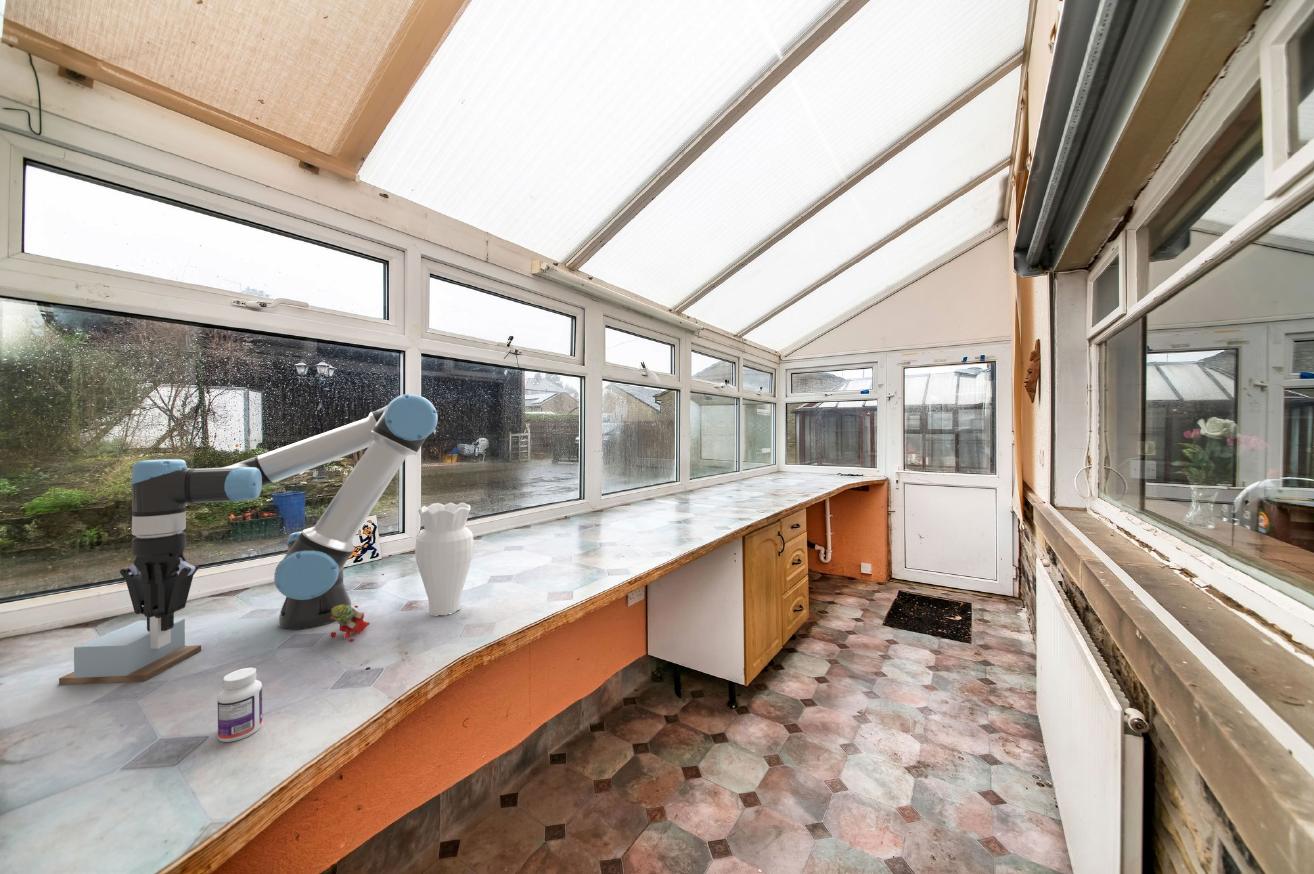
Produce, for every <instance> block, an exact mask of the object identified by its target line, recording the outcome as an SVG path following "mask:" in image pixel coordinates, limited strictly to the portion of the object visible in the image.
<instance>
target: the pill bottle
mask: <svg viewBox="0 0 1314 874" xmlns="http://www.w3.org/2000/svg"><path fill="white" fill-rule="evenodd" d="M257 676H258V675H257V668H255V667H244V668H240V669H236V670H234V671H232V672H230V673H227V674H226V675H224V677H223V679H222V686H223V689H222V690H221V691H220V692H219V693H218V695H217V740H218V741H220V742H222V743H230V742H231V743H232V742H236V741H240V740H242V739H245V738H247V737H249V736H251V735H253V734H254V733H256V732H257V731H258V730H260V728H261V727H262V725H263V683H262V682H261V681H260V680H259V679H257Z"/></svg>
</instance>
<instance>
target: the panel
mask: <svg viewBox="0 0 1314 874" xmlns="http://www.w3.org/2000/svg"><path fill="white" fill-rule="evenodd" d="M185 622H186V621H185V618H177V619H176V618H174V626H173V628H171V643H168V644H166V645H164V646H162V647H160V648H158V649H150V631H148V630H147V619H144V620H143V619H141V620H137V621H135V622H133V623H130V624H128V625H124V626H122V627H121V628H118V629H115V630H112V631H110V632H108V633H106V634H103V635H101V636H98V637H96V638H92V639H91V640H88V641H86V642H83V643H81V644H78V645H76V646H74V647H73V666H74V667H73V672H74V678H81V677H106V676H127V675H128V674H130V673H132V672H134V671H136V670H138V669H140V668H142V667H144V666H146V665H148V664H150V663H152V662H154V661H156V660H158V659H160V658H162V657H164V656H166V655H168V654H170V653H172V652H174V651H175V650H177V649H179V648H181V647H183V646H186V623H185Z"/></svg>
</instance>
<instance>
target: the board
mask: <svg viewBox="0 0 1314 874" xmlns="http://www.w3.org/2000/svg"><path fill="white" fill-rule="evenodd" d="M201 651H202V645H201V644H199V645H198V644H197V645H194V644H193V645H185V646H183V647H181V648H179V649H177V650H175V651H174V652H172V653H170V654H168V655H166V656H164V657H162V658H160V659H158V660H156V661H154V662H152V663H150V664H148V665H146V666H144V667H142V668H140V669H138V670H136V671H134V672H132V673H130V674H128V675H127V676H106V677H81V678H74V671H72V672H70V673H68V674H65V675H63V676H61V677H59V678H58V685H78V684H82V685H83V684H101V683H103V684H106V683H129V682H130V683H132V682H146V681H149V680H150V679H152V678H153V677H155V676H157V675H160V674H161V673H163V672H164V671H166V670H168V669H170V668H173V667H174V666H175V665H177V664H179V663H181V662H183V661H185V660H186V659H188V658H190V657H192V656H194V655H196V654H198V653H200V652H201Z"/></svg>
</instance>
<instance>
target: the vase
mask: <svg viewBox="0 0 1314 874" xmlns="http://www.w3.org/2000/svg"><path fill="white" fill-rule="evenodd" d="M417 512H418V514H419V516H420V518H421V521H422V523H423V527H424V529H423V530H422V531H421V532H419V534H418V535H417V537H416V539H415V547H414V552H415V555H414V556H415V562H416V565H417V568H418V572H419V575H420V577H421V580H422V583H423V587H424V589H425V593H426V597H427V599H428V601H427V602H428V614H429V613H430V614H429V615H431V614H432V615H431V616H433V615H445V616H447V615H446V614H449V613H453V612H455V613H457V612H458V611H457V610H459V609H460V610H461V607H462V594H463V590H464V586H465V583H466V579H467V578H468V577H467V576H468V573H469V569H470V566H471V562H472V561H473V556H474V546H475V541H474V534H473V532H472V531H471V530H470V529H469V528H468V527H467V526H466V523H467V521H468V517H469V514H470V513H471V505H470V504H467V503H466V502H459V503H458V504H456V503H453V502H451V501H450V502H448V503H445V504H442V503H440V502H436V503H435V502H434V503H431V504H430V505H428V506H426V505H423V506H421V507H419V508H418V511H417ZM460 610H459V611H460ZM456 611H457V612H456ZM453 614H454V613H453Z"/></svg>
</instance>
